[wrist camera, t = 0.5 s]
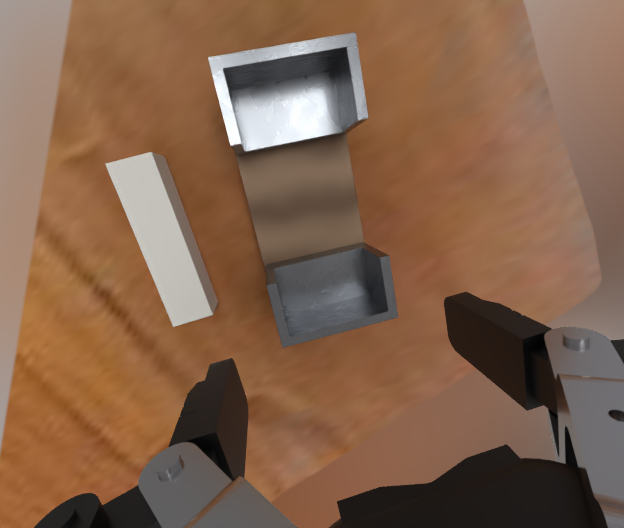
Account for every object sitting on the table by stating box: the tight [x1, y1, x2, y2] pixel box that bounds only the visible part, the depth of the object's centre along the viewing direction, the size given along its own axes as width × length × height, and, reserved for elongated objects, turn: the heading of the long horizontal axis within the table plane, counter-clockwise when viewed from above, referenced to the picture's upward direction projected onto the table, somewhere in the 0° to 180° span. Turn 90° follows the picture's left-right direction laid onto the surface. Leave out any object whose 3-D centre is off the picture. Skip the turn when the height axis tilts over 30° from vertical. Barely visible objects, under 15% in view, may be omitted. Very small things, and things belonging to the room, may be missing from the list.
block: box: [105, 152, 218, 327], centre depth 31 cm, size 16×4×4 cm, turn 15°
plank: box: [235, 134, 364, 271], centre depth 33 cm, size 25×11×2 cm, turn 12°
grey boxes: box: [208, 32, 398, 348], centre depth 29 cm, size 23×11×8 cm, turn 12°
